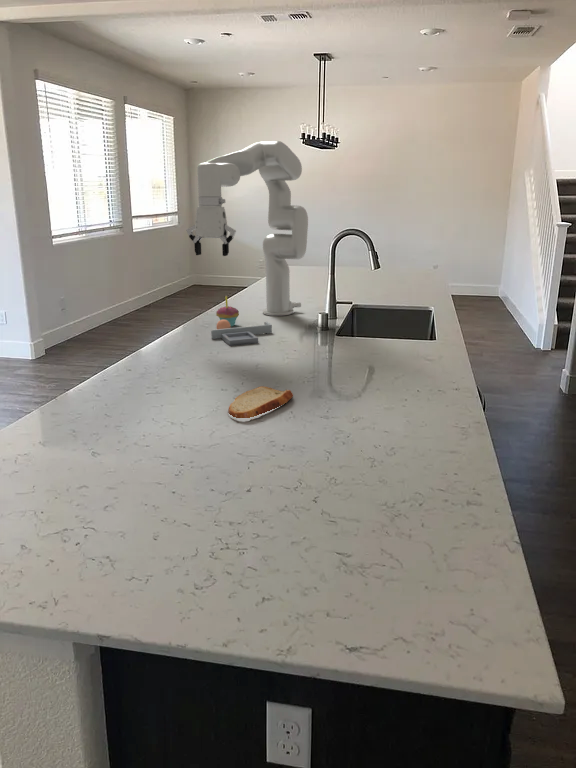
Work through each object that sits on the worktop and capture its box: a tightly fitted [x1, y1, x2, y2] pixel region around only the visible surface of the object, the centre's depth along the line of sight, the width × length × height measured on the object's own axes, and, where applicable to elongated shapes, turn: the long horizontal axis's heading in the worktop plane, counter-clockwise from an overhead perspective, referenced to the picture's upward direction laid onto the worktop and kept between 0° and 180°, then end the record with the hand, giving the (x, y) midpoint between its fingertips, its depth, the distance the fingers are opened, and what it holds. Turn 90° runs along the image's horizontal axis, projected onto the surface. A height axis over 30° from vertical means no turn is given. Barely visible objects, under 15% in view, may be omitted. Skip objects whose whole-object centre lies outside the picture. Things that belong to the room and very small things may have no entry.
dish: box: [221, 331, 259, 347], centre depth 218 cm, size 10×10×2 cm
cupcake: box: [215, 295, 240, 327], centre depth 240 cm, size 9×8×12 cm
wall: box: [210, 321, 273, 340], centre depth 228 cm, size 22×6×3 cm, turn 111°
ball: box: [215, 319, 232, 329], centre depth 229 cm, size 5×5×5 cm
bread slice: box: [227, 385, 294, 418], centre depth 157 cm, size 18×18×4 cm
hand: (211, 255), depth 216 cm, fingers open, 9 cm apart
